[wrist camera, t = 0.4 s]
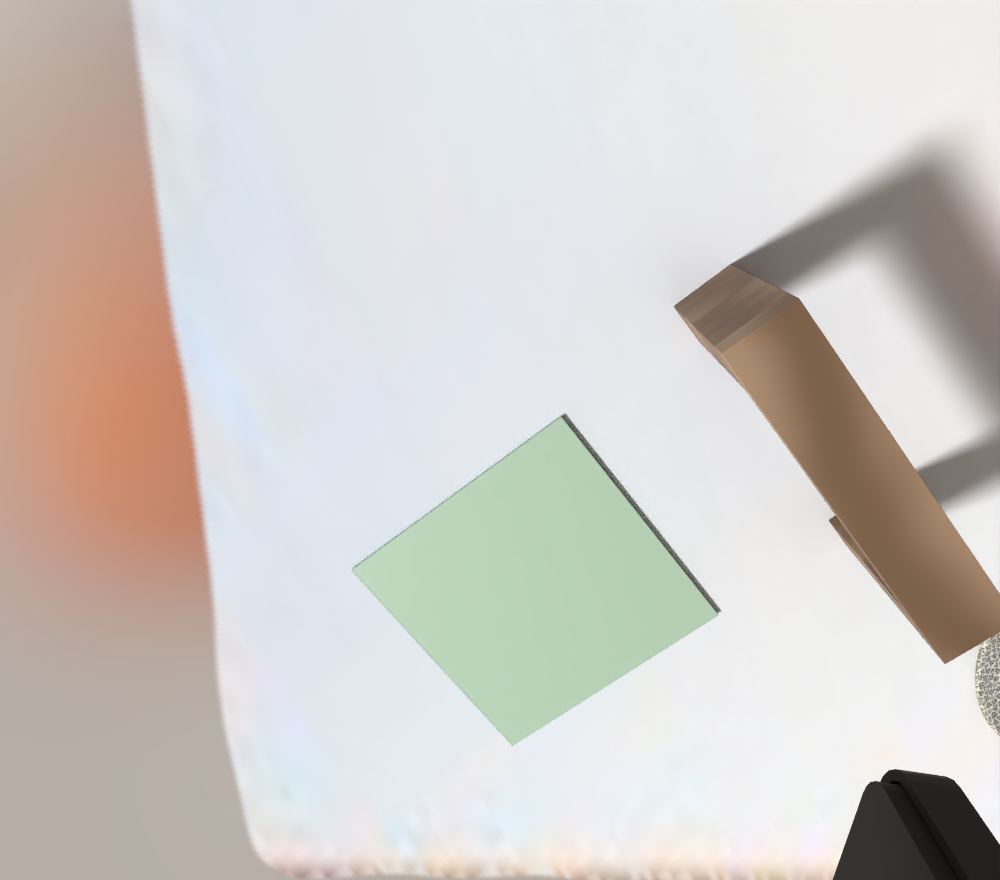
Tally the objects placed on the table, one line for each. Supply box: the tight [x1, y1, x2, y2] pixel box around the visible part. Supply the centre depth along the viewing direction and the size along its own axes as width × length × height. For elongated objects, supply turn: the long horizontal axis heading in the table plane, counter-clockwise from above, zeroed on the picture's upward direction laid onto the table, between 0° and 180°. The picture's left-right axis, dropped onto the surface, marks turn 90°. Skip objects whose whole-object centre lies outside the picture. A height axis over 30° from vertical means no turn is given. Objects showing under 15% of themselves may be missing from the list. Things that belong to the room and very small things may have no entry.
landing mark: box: [351, 416, 718, 746], centre depth 42 cm, size 13×13×1 cm
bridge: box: [674, 264, 1000, 664], centre depth 34 cm, size 3×15×10 cm, turn 38°
